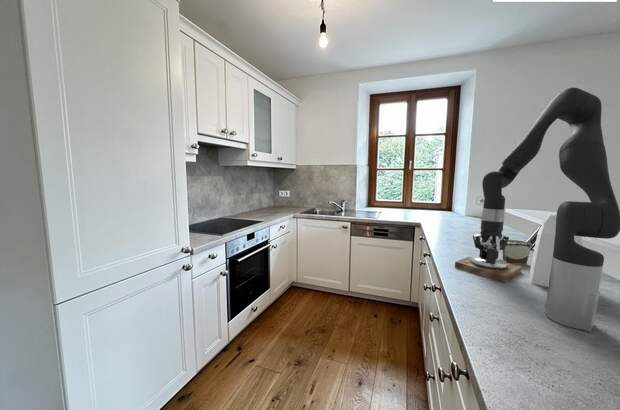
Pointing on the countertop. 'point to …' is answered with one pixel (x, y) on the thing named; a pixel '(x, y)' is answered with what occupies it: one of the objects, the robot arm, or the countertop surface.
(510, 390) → the countertop surface
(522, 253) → the food container
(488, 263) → the dial
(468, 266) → the wooden board
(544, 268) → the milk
